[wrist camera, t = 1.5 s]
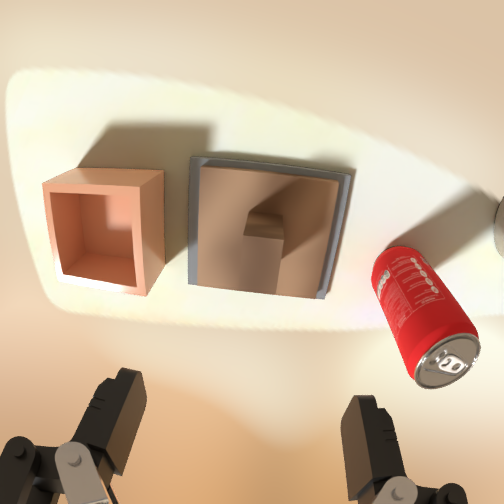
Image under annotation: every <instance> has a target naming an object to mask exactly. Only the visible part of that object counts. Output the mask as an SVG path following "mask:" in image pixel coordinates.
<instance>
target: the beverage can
mask: <svg viewBox="0 0 504 504" xmlns="http://www.w3.org/2000/svg"><path fill="white" fill-rule="evenodd" d="M371 281H372V286H373V289H374V291H375V293H376V295H377V298H378V300H379V302H380V305H381V307H382V309H383V312H384V314H385V316H386V319H387V321H388V323H389V326H390V328H391V331H392V333H393V335H394V338H395V340H396V343H397V345H398V348H399V350H400V353H401V355H402V358H403V361H404V363H405V366H406V368H407V371H408V374H409V375H410V377H411V378H413V379H414V380H415V382H416V383H417V384H418V385H419V386H420V387H422V388H425V389H437V388H442V387H445V386H447V385H450V384H452V383H454V382H455V381H457V380H458V379H460V378H461V377H462V376H464V375H465V374H466V373H467V372H468V371H469V370H470V369H471V368H472V366H473V365H474V363H475V362H476V360H477V358H478V356H479V353H480V349H481V346H480V342H479V337H478V332H477V330H476V328H475V326H474V325H473V324H472V322H471V321H470V319H469V318H468V316H467V315H466V313H465V312H464V310H463V309H462V308H461V306H460V305H459V303H458V302H457V301H456V299H455V298H454V297H453V295H452V294H451V292H450V291H449V290H448V288H447V287H446V286H445V284H444V283H443V282H442V280H441V279H440V278H439V276H438V275H437V274H436V273H435V271H434V270H433V269H432V267H431V266H430V265H429V264H428V262H427V261H426V260H425V259H424V257H423V256H422V255H421V254H420V253H419V252H418V251H416V250H415V249H412V248H408V247H405V246H394V247H391V248H388V249H386V250H385V251H383V252H382V253H381V254H380V255H379V256H378V258H377V259H376V261H375V263H374V266H373V272H372V277H371Z"/></svg>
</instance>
